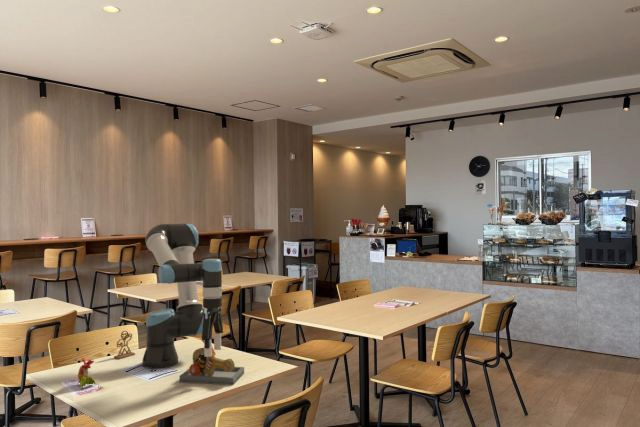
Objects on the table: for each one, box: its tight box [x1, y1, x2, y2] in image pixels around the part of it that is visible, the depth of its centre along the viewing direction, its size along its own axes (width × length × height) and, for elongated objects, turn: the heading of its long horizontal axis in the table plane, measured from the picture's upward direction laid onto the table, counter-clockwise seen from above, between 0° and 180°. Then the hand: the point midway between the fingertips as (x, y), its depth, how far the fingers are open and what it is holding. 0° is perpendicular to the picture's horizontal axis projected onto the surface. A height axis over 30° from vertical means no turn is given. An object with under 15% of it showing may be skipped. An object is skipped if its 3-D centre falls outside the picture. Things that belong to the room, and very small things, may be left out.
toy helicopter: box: [188, 339, 236, 376], centre depth 194 cm, size 8×21×14 cm, turn 60°
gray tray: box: [179, 366, 245, 386], centre depth 196 cm, size 22×14×2 cm, turn 82°
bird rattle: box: [77, 357, 97, 388], centre depth 188 cm, size 6×11×9 cm
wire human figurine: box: [113, 330, 136, 360], centre depth 227 cm, size 9×4×12 cm, turn 149°
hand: (212, 352), depth 196 cm, fingers open, 10 cm apart
